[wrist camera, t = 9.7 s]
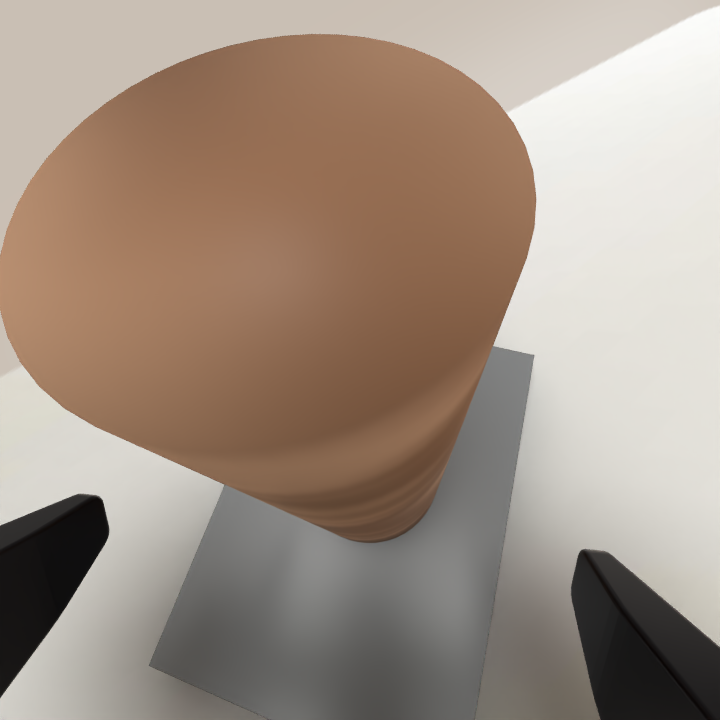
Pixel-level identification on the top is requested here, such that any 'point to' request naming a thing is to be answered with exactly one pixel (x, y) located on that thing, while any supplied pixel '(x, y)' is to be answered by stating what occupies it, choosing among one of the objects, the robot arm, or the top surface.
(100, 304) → the banded brown cylinder
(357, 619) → the slate board
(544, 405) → the top surface
